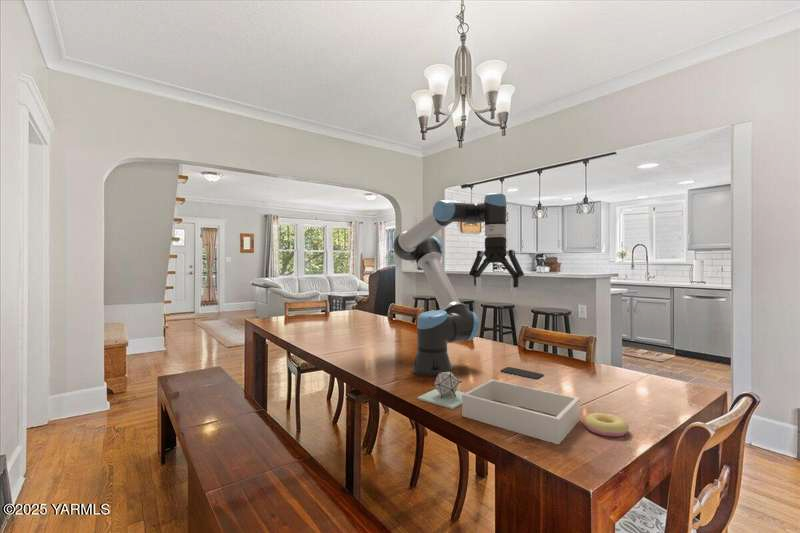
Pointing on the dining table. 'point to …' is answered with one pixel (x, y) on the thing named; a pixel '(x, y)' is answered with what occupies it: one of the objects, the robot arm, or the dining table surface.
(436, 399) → the mat
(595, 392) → the dining table surface
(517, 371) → the phone
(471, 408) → the crate
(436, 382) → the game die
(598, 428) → the donut
